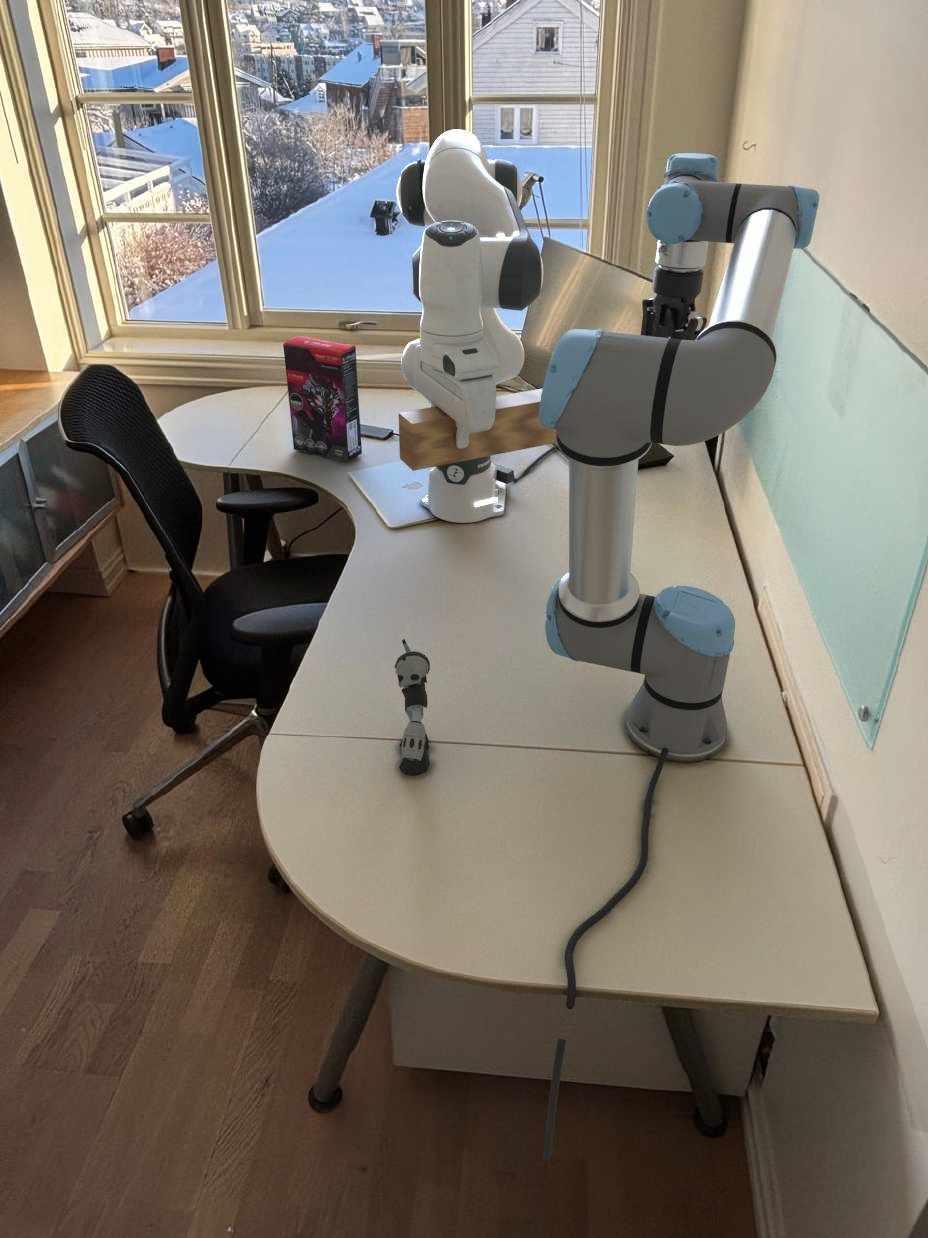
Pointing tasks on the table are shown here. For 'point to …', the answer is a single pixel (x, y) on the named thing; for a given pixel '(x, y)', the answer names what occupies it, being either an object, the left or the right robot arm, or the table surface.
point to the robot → (413, 710)
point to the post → (433, 433)
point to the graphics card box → (323, 397)
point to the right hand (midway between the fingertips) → (660, 411)
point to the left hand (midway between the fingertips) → (451, 438)
